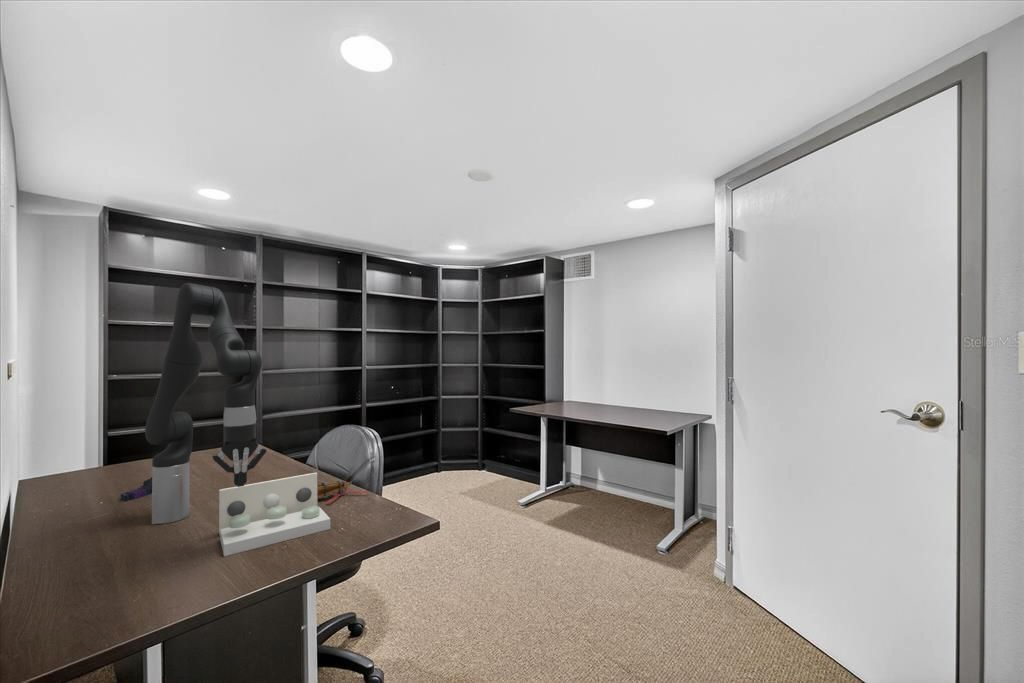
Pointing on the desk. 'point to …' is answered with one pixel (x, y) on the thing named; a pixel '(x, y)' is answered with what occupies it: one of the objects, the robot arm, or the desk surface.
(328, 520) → the button panel
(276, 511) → the button middle
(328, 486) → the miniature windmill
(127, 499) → the handgun
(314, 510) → the button right
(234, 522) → the button left
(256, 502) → the pattern card
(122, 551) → the desk surface
